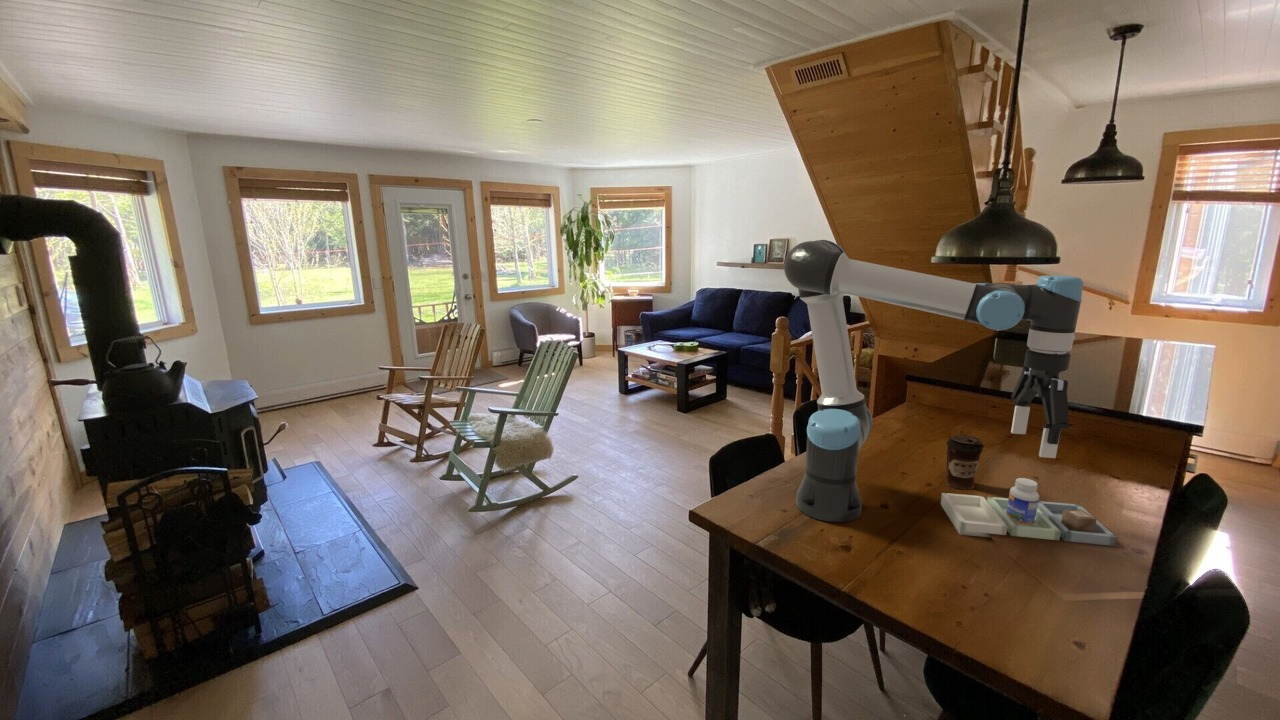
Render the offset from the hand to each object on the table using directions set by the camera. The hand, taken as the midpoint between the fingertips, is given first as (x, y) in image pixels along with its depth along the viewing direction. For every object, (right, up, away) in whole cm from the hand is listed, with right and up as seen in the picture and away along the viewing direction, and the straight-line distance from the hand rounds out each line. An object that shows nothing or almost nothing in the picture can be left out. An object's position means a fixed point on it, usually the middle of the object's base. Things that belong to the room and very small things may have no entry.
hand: (1031, 444), depth 116 cm
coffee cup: (-1, -15, +24) cm, 28 cm away
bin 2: (+10, -19, +2) cm, 22 cm away
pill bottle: (0, -18, +4) cm, 19 cm away
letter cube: (+10, -19, 0) cm, 21 cm away
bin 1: (-9, -19, +7) cm, 22 cm away
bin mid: (+1, -19, +4) cm, 20 cm away
